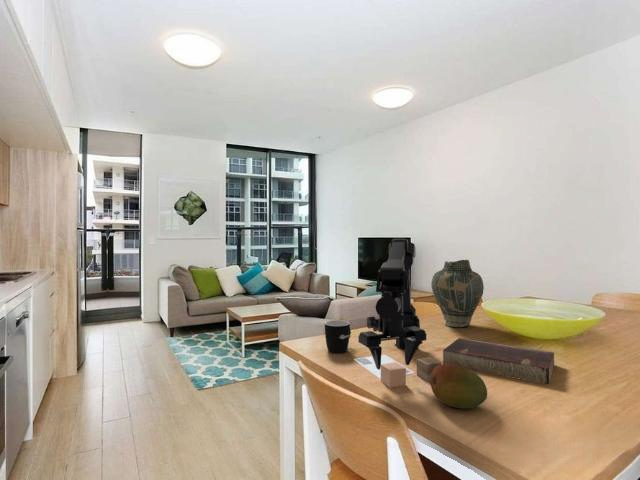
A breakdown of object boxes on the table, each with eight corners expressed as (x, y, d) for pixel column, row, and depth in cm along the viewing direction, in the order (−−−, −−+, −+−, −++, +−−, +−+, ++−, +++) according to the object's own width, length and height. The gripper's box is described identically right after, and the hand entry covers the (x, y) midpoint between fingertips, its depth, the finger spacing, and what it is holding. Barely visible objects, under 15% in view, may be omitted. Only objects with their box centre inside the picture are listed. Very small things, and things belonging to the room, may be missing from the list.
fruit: (424, 395, 96) (424, 357, 96) (471, 393, 97) (471, 355, 97) (443, 418, 84) (443, 374, 84) (496, 415, 85) (496, 372, 85)
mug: (339, 356, 127) (339, 327, 127) (319, 351, 133) (319, 323, 132) (359, 348, 136) (359, 320, 136) (340, 343, 142) (340, 317, 141)
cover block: (396, 379, 107) (395, 362, 107) (405, 386, 102) (405, 368, 102) (380, 381, 105) (380, 364, 105) (390, 388, 101) (389, 370, 101)
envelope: (384, 355, 128) (384, 354, 128) (415, 373, 111) (415, 372, 111) (353, 359, 124) (353, 358, 124) (379, 379, 107) (379, 378, 107)
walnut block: (431, 373, 111) (430, 357, 111) (441, 379, 106) (441, 362, 106) (416, 376, 109) (416, 359, 109) (427, 382, 105) (426, 364, 105)
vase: (492, 331, 157) (492, 260, 156) (439, 332, 157) (439, 261, 156) (471, 319, 179) (471, 257, 178) (425, 319, 179) (425, 257, 179)
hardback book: (554, 366, 117) (554, 350, 117) (549, 386, 102) (549, 368, 102) (459, 350, 134) (459, 336, 134) (443, 365, 119) (443, 349, 119)
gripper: (405, 303, 114) (405, 354, 114) (349, 308, 108) (350, 361, 108) (427, 310, 104) (427, 366, 104) (367, 316, 97) (368, 375, 98)
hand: (392, 366), depth 104 cm, fingers open, 9 cm apart
